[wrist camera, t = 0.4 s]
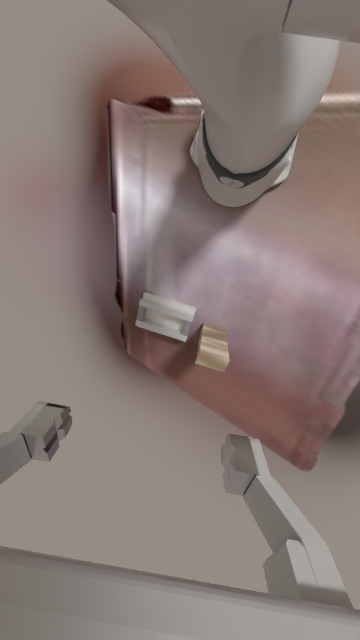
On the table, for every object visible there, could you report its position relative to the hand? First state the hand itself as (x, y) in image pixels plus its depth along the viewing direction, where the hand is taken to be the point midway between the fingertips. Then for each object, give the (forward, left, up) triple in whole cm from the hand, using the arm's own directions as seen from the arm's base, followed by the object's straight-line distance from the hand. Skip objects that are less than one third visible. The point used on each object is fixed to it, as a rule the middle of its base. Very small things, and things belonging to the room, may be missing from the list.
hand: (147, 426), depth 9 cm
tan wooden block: (+11, +7, -39) cm, 41 cm away
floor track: (+11, -6, -39) cm, 41 cm away
